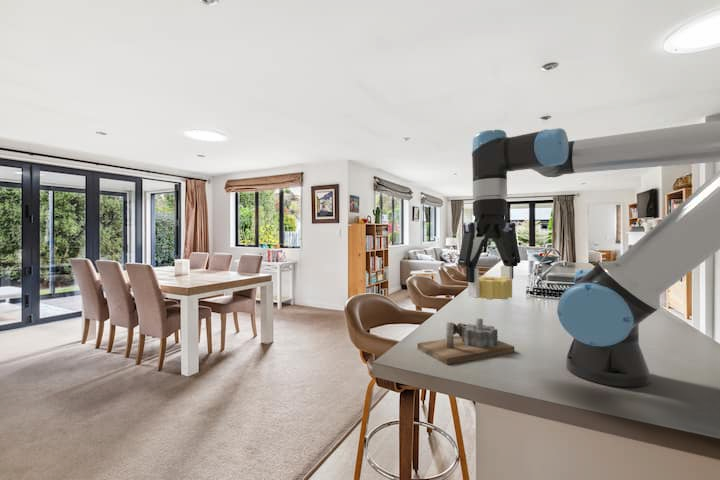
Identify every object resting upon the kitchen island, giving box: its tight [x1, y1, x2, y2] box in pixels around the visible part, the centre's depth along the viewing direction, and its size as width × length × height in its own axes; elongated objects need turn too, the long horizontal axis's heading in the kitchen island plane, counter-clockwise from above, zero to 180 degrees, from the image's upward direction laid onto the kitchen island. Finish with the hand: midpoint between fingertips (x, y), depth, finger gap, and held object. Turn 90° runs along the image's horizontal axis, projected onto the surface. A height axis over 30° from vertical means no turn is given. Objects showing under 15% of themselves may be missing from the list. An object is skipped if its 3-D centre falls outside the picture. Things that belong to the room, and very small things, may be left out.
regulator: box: [453, 322, 466, 337], centre depth 106 cm, size 8×4×15 cm
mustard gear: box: [473, 276, 513, 301], centre depth 81 cm, size 9×9×4 cm
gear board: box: [417, 317, 515, 365], centre depth 94 cm, size 13×22×8 cm, turn 113°
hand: (490, 294), depth 81 cm, fingers closed on mustard gear, 9 cm apart
